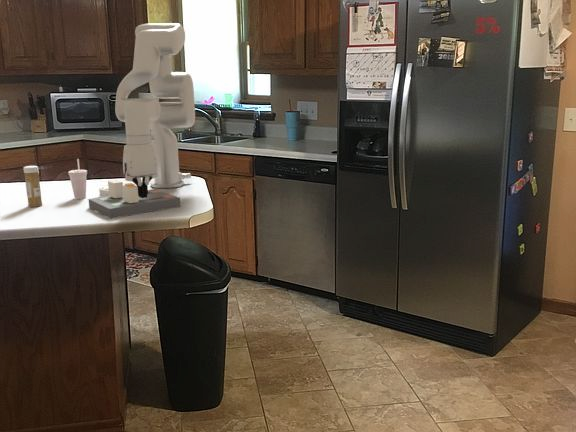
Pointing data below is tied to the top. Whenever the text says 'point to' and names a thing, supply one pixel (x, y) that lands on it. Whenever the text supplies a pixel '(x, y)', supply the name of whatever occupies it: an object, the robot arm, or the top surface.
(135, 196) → the breaker
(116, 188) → the block
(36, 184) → the sprinkles bottle
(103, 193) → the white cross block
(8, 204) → the top surface
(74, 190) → the smoothie
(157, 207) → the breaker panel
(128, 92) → the robot arm
